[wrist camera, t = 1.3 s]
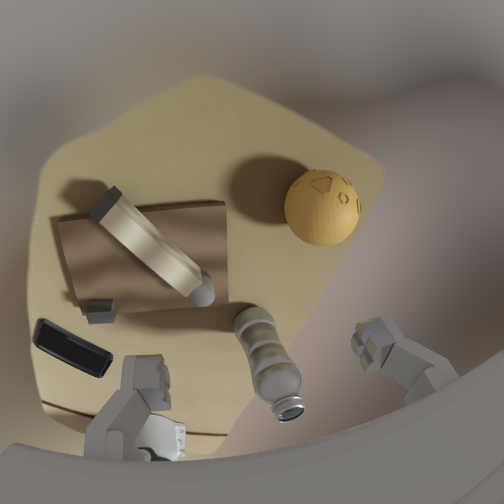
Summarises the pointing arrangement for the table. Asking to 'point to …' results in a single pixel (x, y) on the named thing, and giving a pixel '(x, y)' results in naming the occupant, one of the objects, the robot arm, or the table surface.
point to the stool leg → (153, 247)
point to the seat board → (135, 270)
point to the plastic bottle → (270, 364)
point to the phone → (72, 349)
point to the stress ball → (322, 207)
